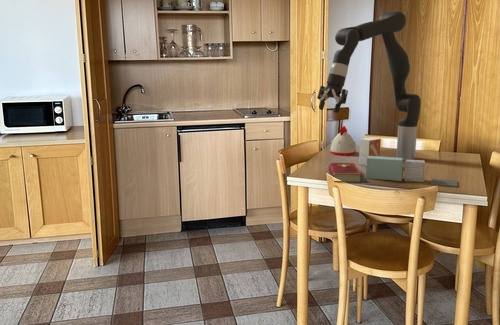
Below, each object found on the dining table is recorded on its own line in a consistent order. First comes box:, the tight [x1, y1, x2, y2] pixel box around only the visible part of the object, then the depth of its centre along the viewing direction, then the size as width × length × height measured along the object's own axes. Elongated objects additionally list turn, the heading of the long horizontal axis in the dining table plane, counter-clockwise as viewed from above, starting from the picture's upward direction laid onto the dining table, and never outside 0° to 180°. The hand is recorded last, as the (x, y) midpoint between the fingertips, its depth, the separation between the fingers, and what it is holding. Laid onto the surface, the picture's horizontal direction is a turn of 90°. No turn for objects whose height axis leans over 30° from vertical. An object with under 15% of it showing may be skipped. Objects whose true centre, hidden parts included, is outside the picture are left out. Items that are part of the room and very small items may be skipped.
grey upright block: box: [404, 159, 426, 183], centre depth 205 cm, size 8×4×9 cm, turn 71°
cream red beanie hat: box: [329, 125, 357, 157], centre depth 260 cm, size 14×14×15 cm
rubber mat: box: [430, 177, 458, 188], centre depth 201 cm, size 9×10×1 cm
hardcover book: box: [328, 162, 362, 183], centre depth 215 cm, size 12×21×4 cm, turn 176°
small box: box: [358, 136, 382, 167], centre depth 234 cm, size 8×6×13 cm
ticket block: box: [365, 156, 405, 182], centre depth 209 cm, size 5×15×9 cm, turn 69°
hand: (328, 111), depth 210 cm, fingers open, 8 cm apart
